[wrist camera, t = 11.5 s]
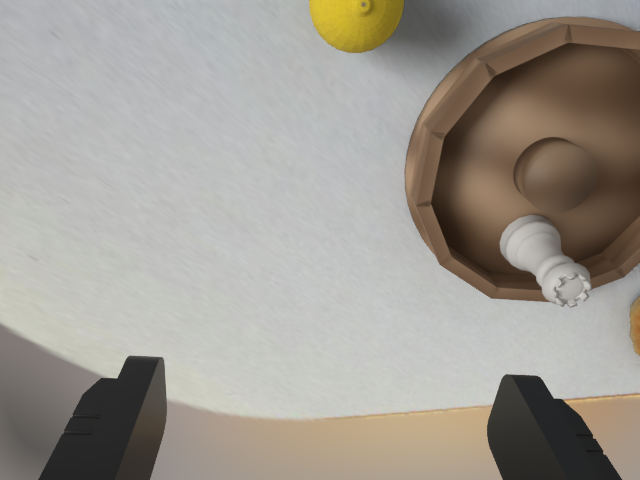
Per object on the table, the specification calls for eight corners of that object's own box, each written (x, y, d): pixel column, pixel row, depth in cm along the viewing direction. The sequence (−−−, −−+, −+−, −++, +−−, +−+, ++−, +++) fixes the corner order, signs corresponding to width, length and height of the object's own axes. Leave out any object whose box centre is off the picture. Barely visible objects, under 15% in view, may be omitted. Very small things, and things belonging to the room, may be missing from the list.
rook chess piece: (529, 201, 40) (579, 249, 32) (564, 234, 41) (620, 287, 34) (485, 241, 41) (524, 295, 34) (521, 271, 42) (566, 330, 35)
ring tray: (433, 1, 34) (446, 2, 31) (730, 32, 36) (771, 37, 32) (385, 275, 43) (392, 297, 40) (622, 290, 45) (647, 313, 42)
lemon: (408, -13, 34) (438, -13, 26) (359, 62, 36) (374, 81, 28) (339, -67, 32) (350, -82, 25) (292, 14, 34) (290, 21, 27)
